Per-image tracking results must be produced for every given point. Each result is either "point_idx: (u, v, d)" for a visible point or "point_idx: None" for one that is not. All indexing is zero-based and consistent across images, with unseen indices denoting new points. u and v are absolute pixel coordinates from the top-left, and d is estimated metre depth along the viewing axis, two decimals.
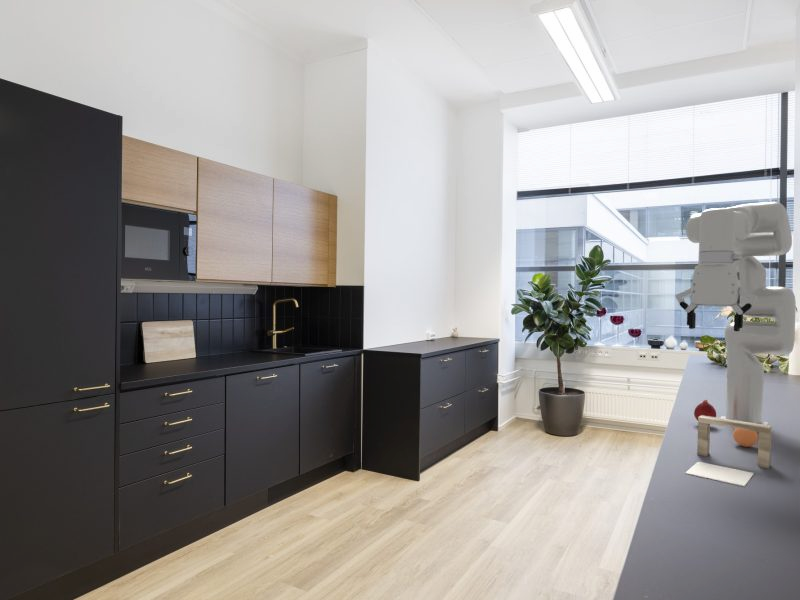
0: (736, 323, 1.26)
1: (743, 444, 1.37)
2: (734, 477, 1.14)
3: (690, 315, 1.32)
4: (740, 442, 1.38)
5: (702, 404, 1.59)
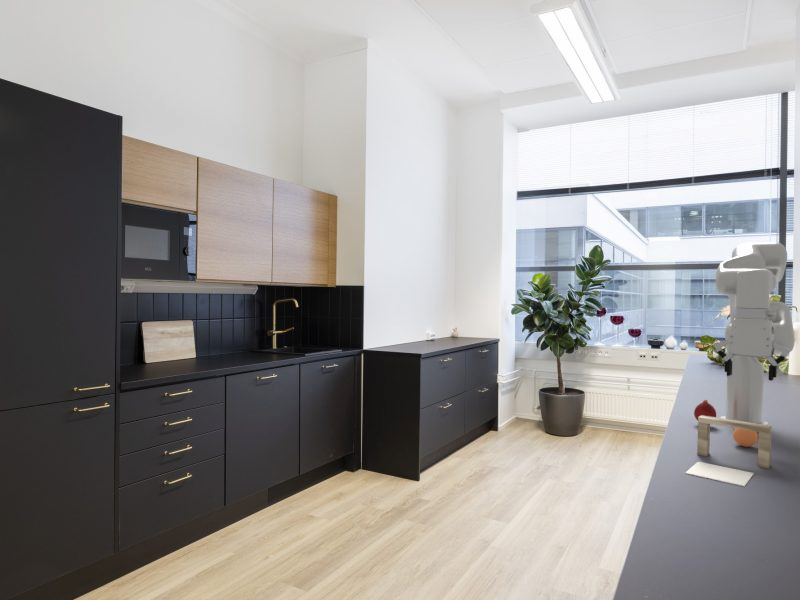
0: (771, 373, 1.40)
1: (743, 444, 1.37)
2: (734, 477, 1.14)
3: (728, 364, 1.46)
4: (740, 442, 1.38)
5: (702, 404, 1.59)
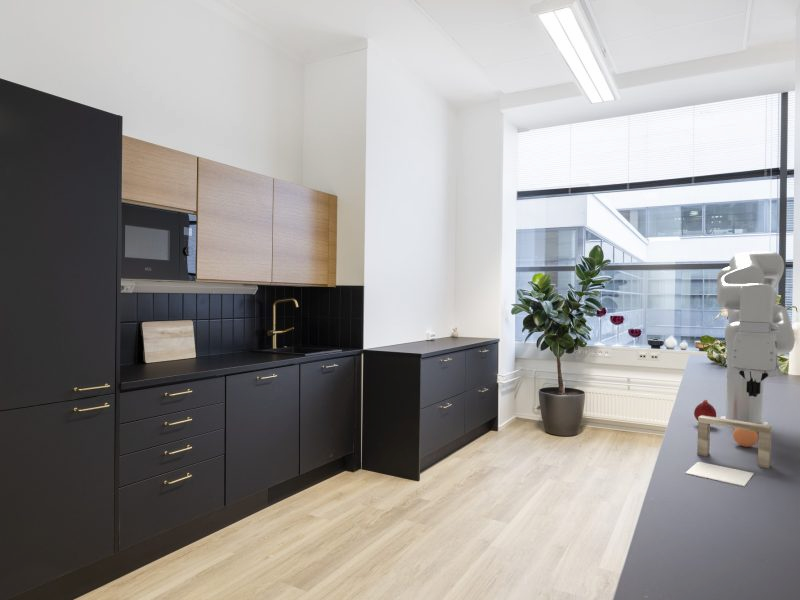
0: (755, 390, 1.44)
1: (743, 444, 1.37)
2: (734, 477, 1.14)
3: (750, 384, 1.44)
4: (740, 442, 1.38)
5: (702, 404, 1.59)
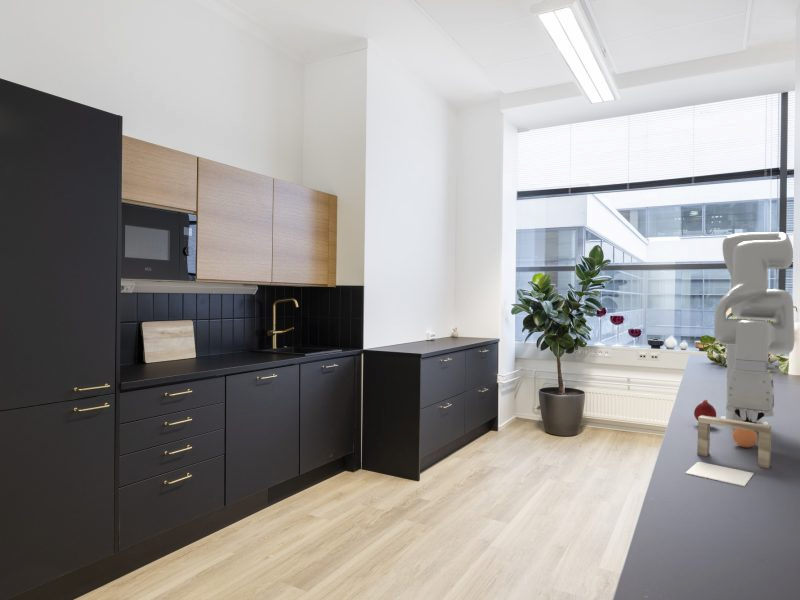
0: None
1: (743, 445, 1.37)
2: (734, 477, 1.14)
3: None
4: (740, 443, 1.37)
5: (702, 404, 1.59)
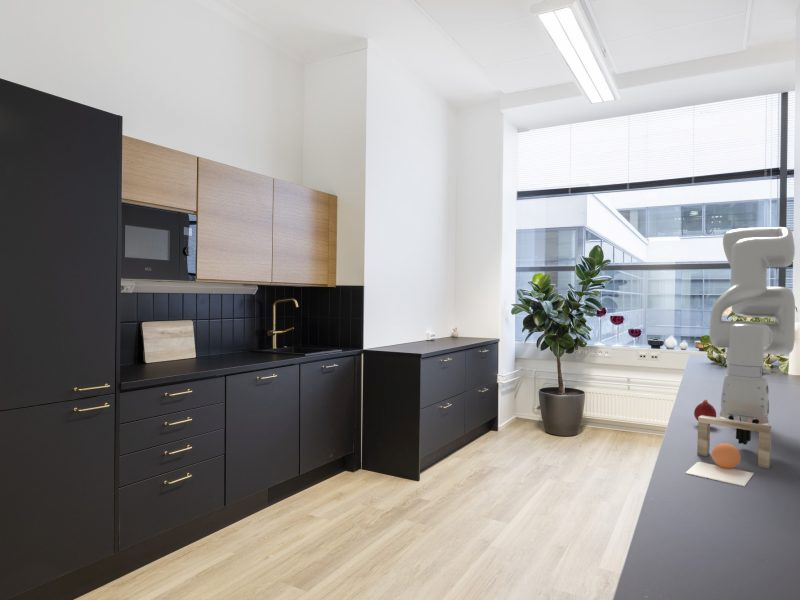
0: (744, 437, 1.35)
1: None
2: (734, 477, 1.14)
3: (740, 430, 1.36)
4: None
5: (702, 404, 1.59)
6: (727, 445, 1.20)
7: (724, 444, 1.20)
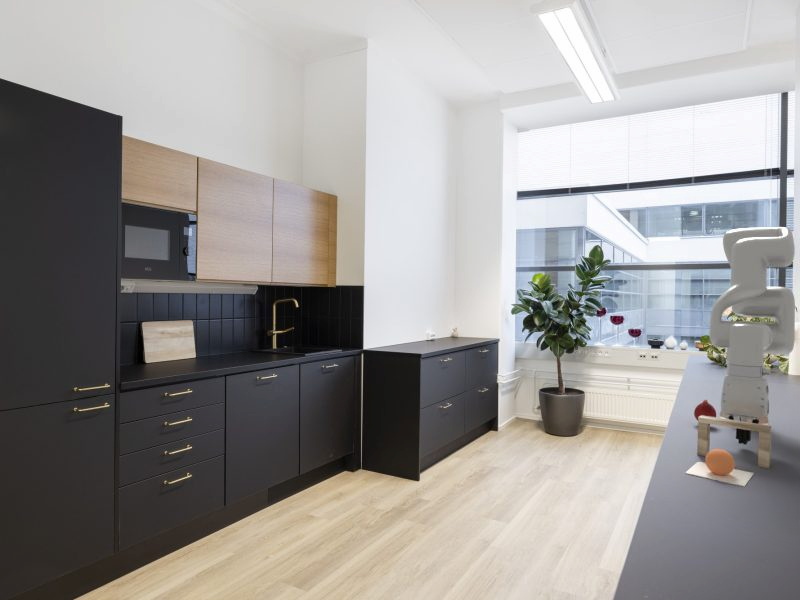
0: (744, 437, 1.35)
1: (718, 454, 1.14)
2: (734, 477, 1.14)
3: (740, 430, 1.36)
4: (715, 452, 1.15)
5: (702, 404, 1.59)
6: (720, 474, 1.15)
7: (716, 473, 1.15)
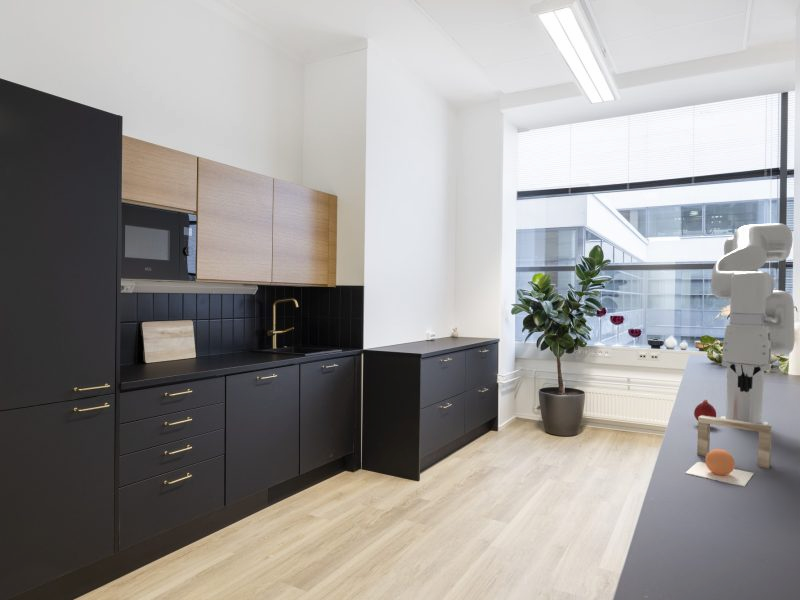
0: (746, 385, 1.35)
1: (718, 454, 1.14)
2: (734, 477, 1.14)
3: (741, 379, 1.36)
4: (715, 452, 1.15)
5: (702, 404, 1.59)
6: (720, 474, 1.15)
7: (716, 473, 1.15)
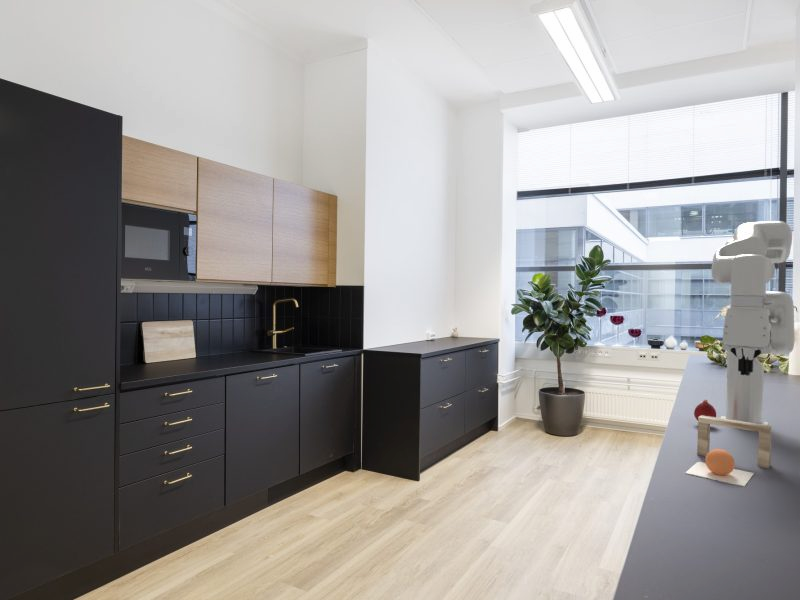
0: (747, 368, 1.35)
1: (718, 454, 1.14)
2: (734, 477, 1.14)
3: (742, 362, 1.35)
4: (715, 452, 1.15)
5: (702, 404, 1.59)
6: (720, 474, 1.15)
7: (716, 473, 1.15)
